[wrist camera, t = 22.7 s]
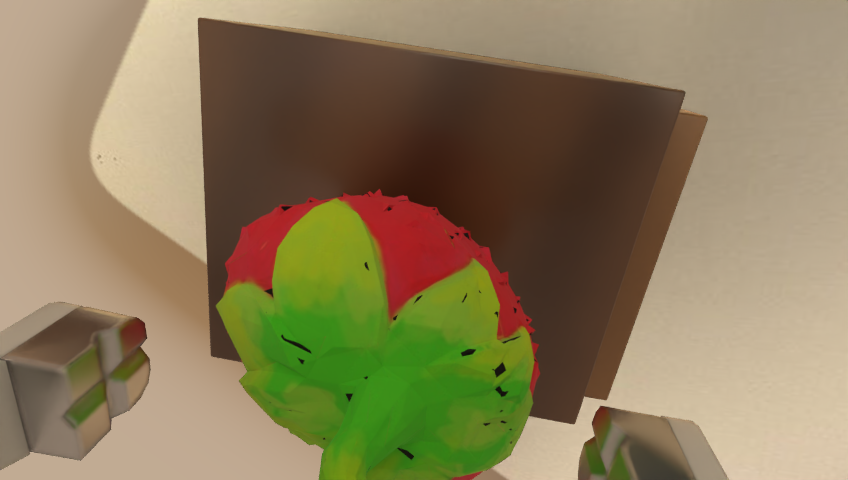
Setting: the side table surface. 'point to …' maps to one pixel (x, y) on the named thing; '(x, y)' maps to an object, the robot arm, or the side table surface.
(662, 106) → the nightstand
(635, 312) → the wooden drawer
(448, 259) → the strawberry
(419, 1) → the side table surface
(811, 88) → the side table surface
